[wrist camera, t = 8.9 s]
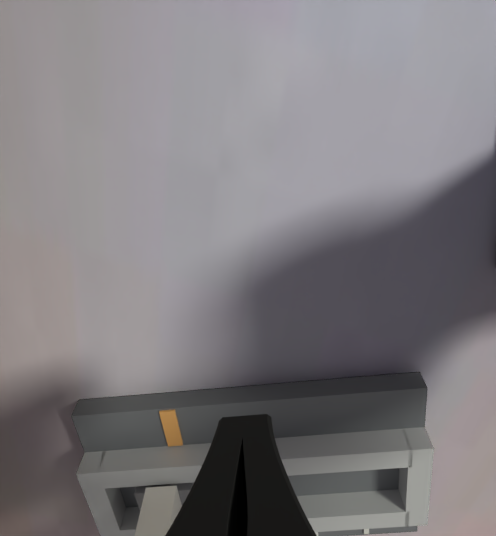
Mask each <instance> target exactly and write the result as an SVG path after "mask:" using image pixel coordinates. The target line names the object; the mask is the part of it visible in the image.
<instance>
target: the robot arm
mask: <svg viewBox="0 0 496 536" xmlns="http://www.w3.org/2000/svg"><path fill="white" fill-rule="evenodd" d="M165 536H317V535H316V534H315V532H314V530H313V528H312V526H311V524H310V523H309V521H308V519H307V517H306V515H305V513H304V511H303V509H302V507H301V505H300V503H299V500H298V498H297V496H296V494H295V492H294V490H293V487H292V485H291V483H290V480H289V478H288V475H287V473H286V470H285V468H284V465H283V463H282V460H281V457H280V454H279V451H278V448H277V445H276V441H275V437H274V433H273V426H272V418H271V416H269V415H268V414H259V415H246V416H233V417H222V418H221V419H220V420H219V422H218V426H217V429H216V432H215V435H214V438H213V441H212V443H211V446H210V448H209V451H208V453H207V456H206V458H205V460H204V463H203V465H202V467H201V469H200V471H199V473H198V476H197V478H196V480H195V482H194V484H193V486H192V488H191V490H190V492H189V494H188V496H187V498H186V500H185V502H184V503H183V505H182V507H181V509H180V511H179V513H178V515H177V516H176V518H175V520H174V522H173V523H172V525H171V527H170V528H169V530H168V532H167V533H166V535H165Z"/></svg>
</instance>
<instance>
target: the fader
mask: <svg viewBox="0 0 496 536" xmlns="http://www.w3.org/2000/svg"><path fill="white" fill-rule="evenodd" d="M193 484H194V482H192V483H178V484H164V485H149V486H136V489H135V493H134V495H135V498H136V501H137V504H138V507H139V510H140V515H139V519H138V523H137V527H136V532H135V536H165V535H166V533H167V532H168V530H169V528H170V527H171V525H172V523H173V522H174V520H175V518H176V516H177V515H178V513H179V511H180V509H181V507H182V505H183V503H184V502H185V500H186V498H187V496H188V494H189V492H190V490H191V488H192V486H193Z"/></svg>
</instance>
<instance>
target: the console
mask: <svg viewBox="0 0 496 536" xmlns="http://www.w3.org/2000/svg"><path fill="white" fill-rule="evenodd" d="M426 401H427V386H426V384H425V382H424V380H423V378H422V376H421V374H420V372H414V373H401V374H389V375H377V376H365V377H353V378H340V379H328V380H316V381H304V382H292V383H279V384H267V385H255V386H243V387H231V388H218V389H206V390H194V391H182V392H170V393H157V394H145V395H133V396H121V397H109V398H96V399H84V400H79V401H78V403H77V405H76V407H75V409H74V411H73V414H72V416H71V417H72V420H73V422H74V425H75V428H76V430H77V433H78V436H79V438H80V441H81V444H82V446H83V449H84V452H85V453H84V456H83V458H82V461H81V463H80V465H79V468H78V470H77V473H76V476H77V478H78V481H79V483H80V486H81V488H82V491H83V493H84V496H85V498H86V501H87V503H88V506H89V508H90V511H91V513H92V516H93V518H94V521H95V523H96V526H97V528H98V531H99V533H100V536H135V532H136V527H137V523H138V519H139V515H140V510H139V507H138V504H137V501H136V498H135V495H134V493H135V489H136V486H149V485H164V484H178V483H192V482H195V480H196V478H197V476H198V473H199V471H200V469H201V467H202V465H203V463H204V460H205V458H206V456H207V453H208V451H209V448H210V446H211V443H212V441H213V438H214V435H215V432H216V429H217V426H218V422H219V420H220V419H221V418H222V417H233V416H246V415H259V414H268V415H269V416H271V418H272V426H273V433H274V437H275V441H276V445H277V448H278V451H279V454H280V457H281V460H282V463H283V465H284V468H285V470H286V473H287V475H288V478H289V480H290V483H291V485H292V487H293V490H294V492H295V494H296V496H297V498H298V500H299V503H300V505H301V507H302V509H303V511H304V513H305V515H306V517H307V519H308V521H309V523H310V524H311V526H312V528H313V530H314V532H315V534H316V535H317V536H349V535H365V534H382V533H398V532H414V531H417V526H421V525H427V523H428V511H429V500H430V488H431V477H432V465H433V454H434V447H433V445H432V443H431V441H430V438H429V436H428V434H427V431H426V429H425V415H426Z"/></svg>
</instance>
